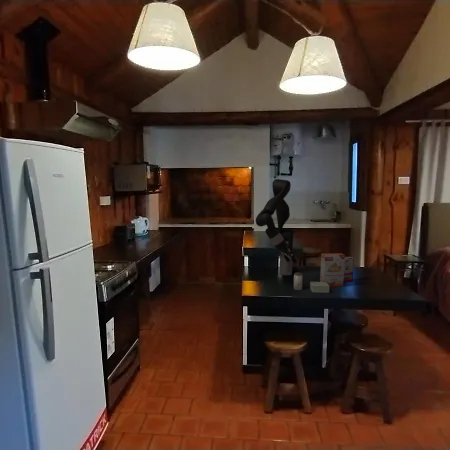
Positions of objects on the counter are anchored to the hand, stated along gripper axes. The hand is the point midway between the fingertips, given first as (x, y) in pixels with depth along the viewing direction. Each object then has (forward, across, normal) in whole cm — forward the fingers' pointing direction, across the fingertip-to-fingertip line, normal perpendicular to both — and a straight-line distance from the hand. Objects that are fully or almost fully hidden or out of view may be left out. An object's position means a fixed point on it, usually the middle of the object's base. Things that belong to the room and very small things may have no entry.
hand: (292, 261), depth 241 cm
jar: (+16, -1, +7) cm, 17 cm away
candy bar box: (+38, +8, -26) cm, 47 cm away
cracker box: (+30, 0, -13) cm, 33 cm away
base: (+23, -7, -2) cm, 24 cm away
